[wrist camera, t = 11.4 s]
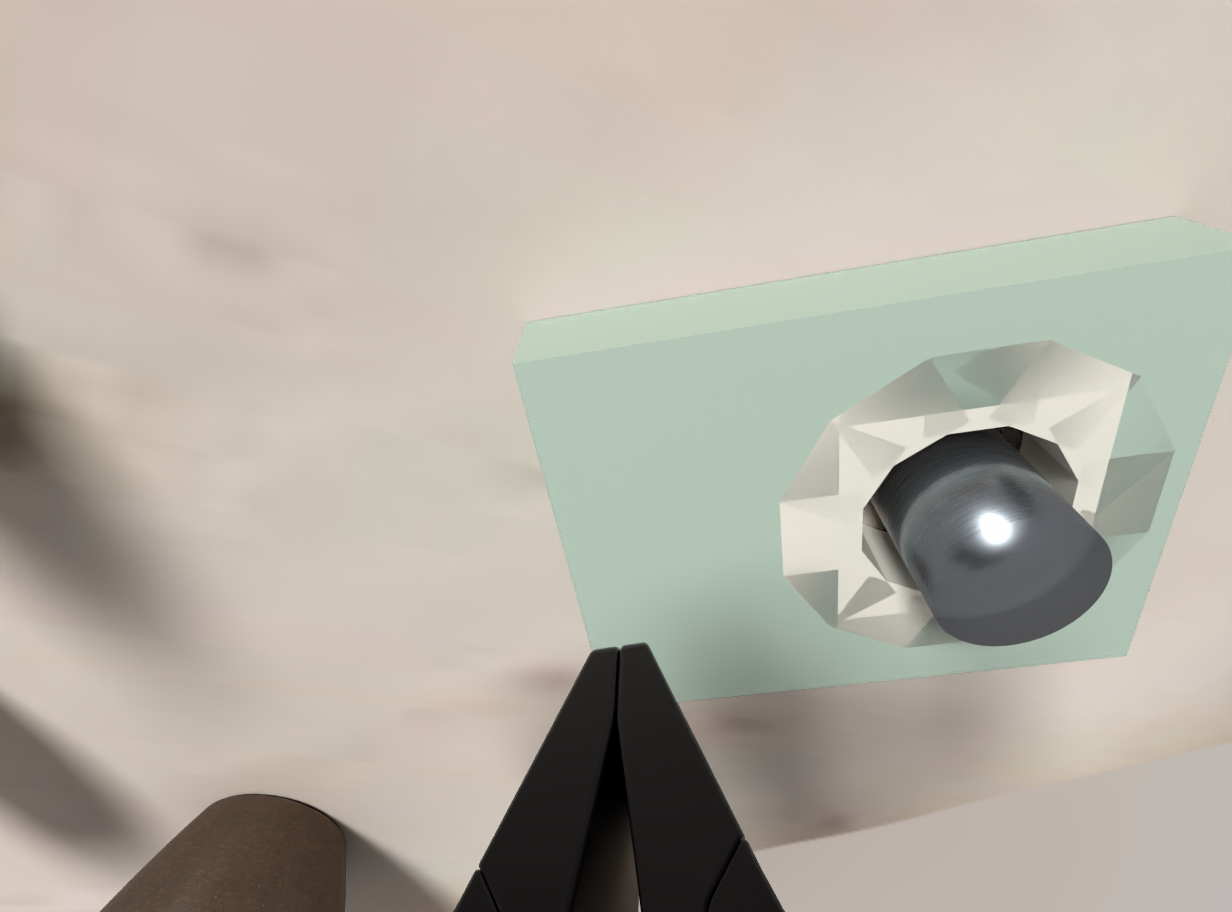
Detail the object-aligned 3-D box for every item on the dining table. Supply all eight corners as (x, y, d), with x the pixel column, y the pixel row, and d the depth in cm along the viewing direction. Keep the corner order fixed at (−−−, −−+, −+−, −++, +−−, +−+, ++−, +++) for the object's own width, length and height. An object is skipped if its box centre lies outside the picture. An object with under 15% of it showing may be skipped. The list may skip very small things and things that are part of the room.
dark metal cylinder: (1005, 393, 21) (1131, 507, 15) (987, 505, 23) (1092, 636, 18) (861, 414, 21) (938, 531, 16) (858, 521, 23) (925, 654, 18)
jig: (1175, 216, 18) (1268, 244, 15) (1075, 593, 25) (1126, 655, 22) (526, 322, 19) (512, 363, 17) (609, 646, 27) (608, 709, 24)
